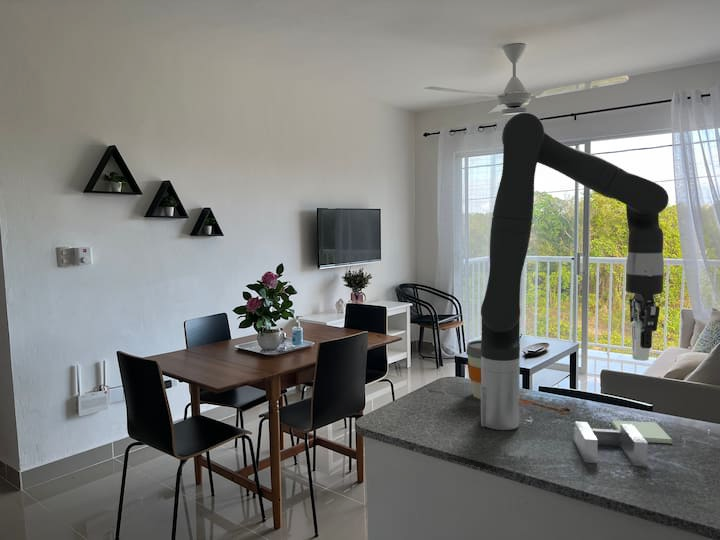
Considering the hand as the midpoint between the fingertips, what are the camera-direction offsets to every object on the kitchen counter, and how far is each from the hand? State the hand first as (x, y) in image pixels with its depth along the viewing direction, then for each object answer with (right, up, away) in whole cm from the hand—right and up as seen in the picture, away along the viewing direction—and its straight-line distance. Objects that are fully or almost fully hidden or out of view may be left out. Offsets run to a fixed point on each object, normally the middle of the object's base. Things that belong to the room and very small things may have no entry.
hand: (642, 345), depth 122 cm
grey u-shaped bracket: (-12, -22, -9) cm, 27 cm away
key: (-16, -20, +21) cm, 33 cm away
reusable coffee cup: (-28, -19, +31) cm, 46 cm away
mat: (0, -21, +2) cm, 21 cm away
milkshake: (0, -3, 0) cm, 3 cm away
